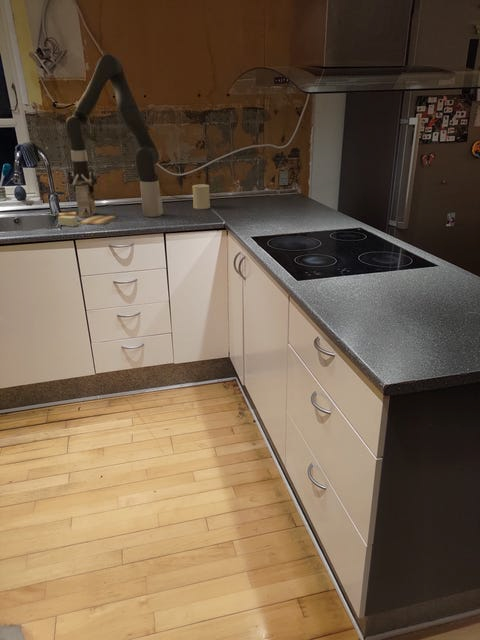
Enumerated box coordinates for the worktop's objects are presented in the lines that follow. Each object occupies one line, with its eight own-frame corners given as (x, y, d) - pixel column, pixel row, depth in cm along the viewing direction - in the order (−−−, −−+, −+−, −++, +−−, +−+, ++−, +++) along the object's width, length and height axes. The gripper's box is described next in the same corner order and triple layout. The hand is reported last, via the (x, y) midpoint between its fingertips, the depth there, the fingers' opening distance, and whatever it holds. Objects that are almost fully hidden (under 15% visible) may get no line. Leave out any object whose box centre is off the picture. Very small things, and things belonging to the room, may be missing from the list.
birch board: (115, 218, 244) (115, 216, 243) (103, 225, 231) (103, 222, 231) (93, 217, 246) (93, 215, 246) (80, 224, 234) (79, 222, 233)
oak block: (77, 219, 243) (75, 211, 241) (76, 221, 239) (75, 213, 237) (60, 221, 241) (59, 213, 239) (59, 223, 237) (58, 214, 236)
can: (189, 207, 264) (188, 185, 259) (201, 204, 270) (200, 182, 265) (201, 209, 259) (200, 186, 253) (213, 206, 265) (212, 184, 260)
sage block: (78, 224, 234) (76, 216, 232) (73, 226, 230) (71, 218, 228) (64, 223, 236) (62, 215, 234) (59, 225, 232) (57, 217, 231)
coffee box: (84, 212, 256) (79, 181, 249) (96, 212, 256) (92, 181, 249) (78, 216, 248) (73, 184, 241) (91, 216, 248) (86, 184, 241)
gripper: (96, 159, 242) (100, 192, 249) (70, 158, 245) (75, 191, 252) (89, 161, 236) (93, 194, 243) (62, 160, 238) (67, 193, 245)
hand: (84, 192), depth 247 cm, fingers open, 8 cm apart
